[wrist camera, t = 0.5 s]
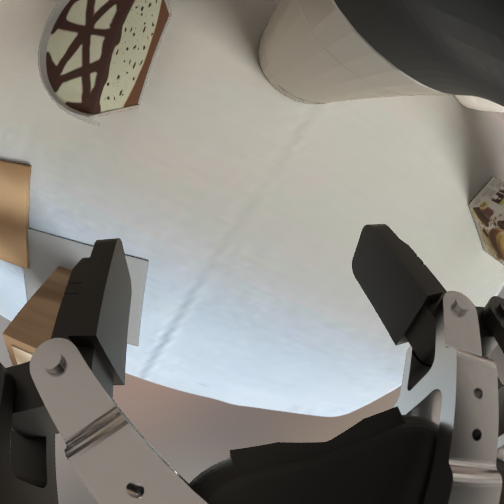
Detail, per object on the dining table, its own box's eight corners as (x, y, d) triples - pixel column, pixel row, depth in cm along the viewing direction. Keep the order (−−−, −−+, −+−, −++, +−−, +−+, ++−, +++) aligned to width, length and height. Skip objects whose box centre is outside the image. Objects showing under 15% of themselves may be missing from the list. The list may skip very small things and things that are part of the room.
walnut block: (58, 266, 27) (1, 334, 16) (96, 277, 28) (48, 355, 17) (60, 302, 29) (14, 372, 18) (96, 313, 30) (58, 391, 19)
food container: (118, -4, 17) (74, -46, 8) (177, 1, 18) (155, -51, 9) (77, 113, 21) (13, 117, 12) (134, 123, 23) (85, 127, 14)
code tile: (22, 226, 25) (21, 226, 25) (148, 260, 28) (148, 261, 28) (29, 310, 30) (29, 311, 30) (138, 345, 33) (138, 346, 33)
